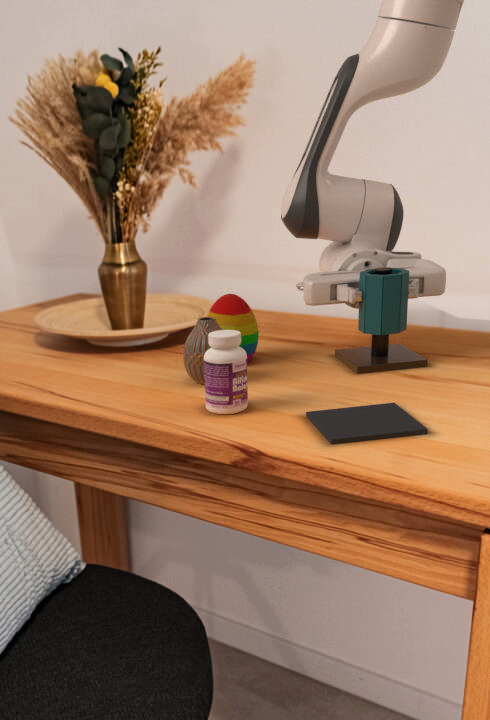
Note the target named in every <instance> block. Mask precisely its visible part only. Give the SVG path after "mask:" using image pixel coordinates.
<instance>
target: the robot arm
mask: <svg viewBox="0 0 490 720" xmlns="http://www.w3.org/2000/svg"><path fill="white" fill-rule="evenodd" d="M464 3H465V0H381V3H380V6H379V9H378V13H377V18H376V20H375V24H374V27H373V29H372V32H371V34H370V36H369V38H368V39H367V41H366V42H365V44H364V45H363V47H362V48H361V49H360V51H358V52H357V53H355V54H352V55H350V56H348V57H347V58H346V59H345V60H344V61H343V63H342V64H341V66H340V68H339V69H338V71H337V73H336V75H335V76H334V79H333V81H332V84H331V86H330V87H329V91H328V93H327V95H326V98H325V100H324V102H323V104H322V107H321V109H320V112H319V114H318V117H317V120H316V122H315V124H314V127H313V129H312V132H311V134H310V137H309V139H308V142H307V144H306V146H305V149H304V151H303V154H302V156H301V158H300V161H299V164H298V166H297V167H296V170H295V172H294V174H293V177H292V178H291V180H290V182H289V183H288V186H287V188H286V189H285V192H284V194H283V197H282V201H281V207H280V208H281V209H280V212H281V213H280V220H281V222H282V223H283V225H284V227H286V229H287V230H288V231H289V233H290V234H291V235H292V236H293V237H294V238H296V239H305V240H318V239H319V240H323V241H324V240H325V241H330V243H329V244H327V245H326V246H325V248H324V249H322V252H321V254H320V256H319V260H318V269H319V270H318V271H319V272H312V273H307V274H305V275H304V276H303V281H297V282H296V283H295V284H296V285H295V287H296V289H297V290H298V291H302V292H303V302H304V304H305V305H306V306H310V307H311V306H312V307H315V306H327V305H328V306H329V305H340V304H341V305H342V304H345V305H346V306H348V307H350V308H353V309H358V310H359V303H362V295H363V292H362V289H360V288H359V282H360V272H362V271H365V270H367V269H375V268H380V267H389V268H403V269H406V270H408V271H409V290H408V300H410V299H418V298H425V297H427V298H428V297H439V296H442V295H443V294H445V291H446V287H447V286H446V285H447V270H446V269H445V267H443V266H442V265H440V264H438V263H436V262H434V261H433V260H429V259H425V258H422V254H421V253H420V252H416V251H415V252H414V251H394V249H395V247H396V246H397V243H398V241H399V238H400V235H401V231H402V227H403V223H404V206H403V203H402V199H401V197H400V194H399V193H398V191H397V189H396V187H395V186H394V185H393V184H392V183H387V182H383V181H382V182H381V181H376V180H372V179H371V180H370V179H366V178H365V179H364V178H362V179H361V178H357V177H356V178H355V177H350V176H343V175H339V174H333V173H330V172H329V171H328V170H329V167H330V164H331V163H332V160H333V158H334V155H335V154H336V153H335V152H336V150H337V149H338V145H339V143H340V141H341V138H342V136H343V134H344V132H345V129H346V126H347V124H348V122H349V121H350V118H351V117H352V116H353V115H354V114H355V113H356V112H357V111H358V110H359V109H361V108H362V107H364V106H366V105H368V104H370V103H373V102H377V101H380V100H385V99H389V98H394V97H398V96H401V95H405V94H409V93H412V92H413V91H416V90H419V89H420V88H422V87H424V86H425V85H427V84H429V82H431V81H432V80H433V79H434V78H435V77H436V76H437V75H438V73H440V71H441V70H442V68H443V65H444V63H445V61H446V59H447V57H448V54H449V52H450V49H451V46H452V42H453V39H454V35H455V31H456V28H457V25H458V21H459V18H460V14H461V11H462V8H463V5H464Z"/></svg>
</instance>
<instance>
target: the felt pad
mask: <svg viewBox="0 0 490 720" xmlns="http://www.w3.org/2000/svg"><path fill="white" fill-rule="evenodd" d="M305 417H306V418H307V419H308V421H310V423H311V424H312V425H313V426H314V427H315V428H316V429H317V430H318V431H319V432H320V434H321V435H322V436H323V438H325V439H326V440H327V441H328V443H330V445H337V444H347V443H348V444H349V443H356V442H365V441H375V440H382V439H393V438H401V437H409V436H411V437H412V436H420V435H428V433H429V431H428V430H429V429H428V428H427V427H426V426H425V425H424V424H422V423H421V422H419V421H418V420H417V419H416V418H414V417H413V416H412V415H411V414H410V413H408V412H407V411H406V410H404V409H403V407H401V406H399V405H398V404H397V403H395V402H387V403H386V402H385V403H377V404H366V405H359V406H348V407H339V408H330V409H329V408H328V409H321V410H320V409H319V410H309V411H306V412H305Z"/></svg>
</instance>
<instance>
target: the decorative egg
mask: <svg viewBox="0 0 490 720" xmlns="http://www.w3.org/2000/svg"><path fill="white" fill-rule="evenodd" d="M206 317H214V318H215V319H216V321H217V323H218V325H219V326H220V327H221V328H222V330H236V331H239V332H240V333H241V344H240V345H239V347H241V348H243V349H244V350H245V352H246V354H247V363H249V362H250V361H251V360H252V358H253V356H254V355H255V353H256V351H257V347H258V344H259V326H258V322H257V319H256V316H255V314H254V312H253V310H252V308H251V306H250V305H249V304H248V303H247V301H245V299H244V298H242V297H241V296H239V295H237V294H235V293H226V294H224V295H222V296H219V298H217V299H216V301H215V302H213V304H212V305H211V307H210V308H209V311H208V313H207V315H206Z"/></svg>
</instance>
